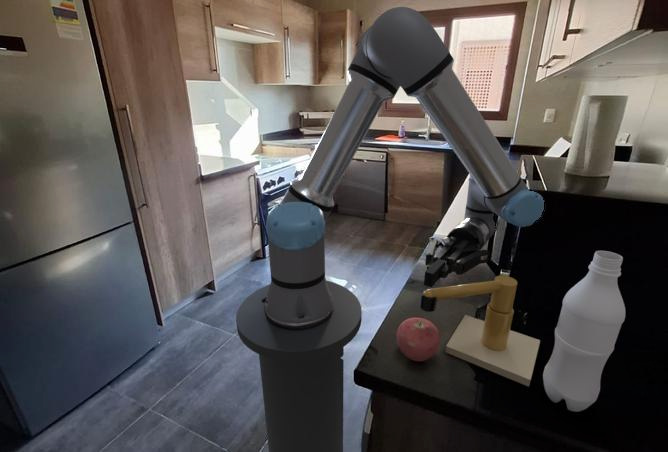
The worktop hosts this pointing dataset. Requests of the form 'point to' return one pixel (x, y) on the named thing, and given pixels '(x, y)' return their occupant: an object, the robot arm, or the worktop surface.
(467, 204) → the robot arm
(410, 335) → the apple
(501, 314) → the tap stand
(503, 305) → the nozzle
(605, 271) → the water bottle
